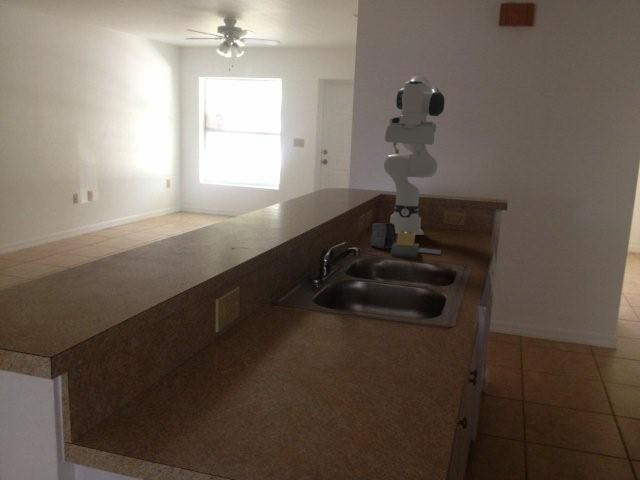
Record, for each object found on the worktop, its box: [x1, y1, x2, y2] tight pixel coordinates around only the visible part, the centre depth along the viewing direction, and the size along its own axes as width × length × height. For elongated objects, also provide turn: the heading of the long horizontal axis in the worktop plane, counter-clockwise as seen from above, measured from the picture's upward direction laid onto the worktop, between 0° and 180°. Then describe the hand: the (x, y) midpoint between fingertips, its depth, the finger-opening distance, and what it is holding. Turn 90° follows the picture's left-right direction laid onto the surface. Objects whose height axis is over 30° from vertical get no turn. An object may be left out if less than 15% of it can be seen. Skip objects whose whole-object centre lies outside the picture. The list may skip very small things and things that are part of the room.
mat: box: [418, 247, 442, 256], centre depth 239 cm, size 9×9×1 cm
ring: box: [396, 231, 416, 247], centre depth 231 cm, size 6×6×5 cm
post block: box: [390, 232, 420, 259], centre depth 231 cm, size 10×10×9 cm
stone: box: [370, 222, 397, 250], centre depth 244 cm, size 12×10×10 cm
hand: (408, 154), depth 238 cm, fingers open, 8 cm apart
